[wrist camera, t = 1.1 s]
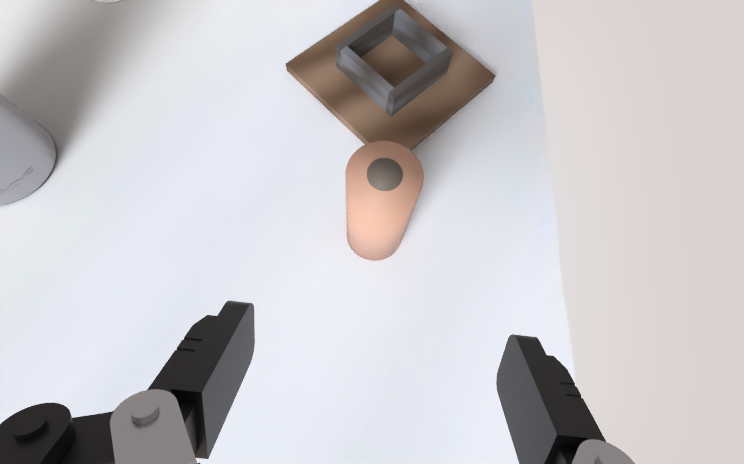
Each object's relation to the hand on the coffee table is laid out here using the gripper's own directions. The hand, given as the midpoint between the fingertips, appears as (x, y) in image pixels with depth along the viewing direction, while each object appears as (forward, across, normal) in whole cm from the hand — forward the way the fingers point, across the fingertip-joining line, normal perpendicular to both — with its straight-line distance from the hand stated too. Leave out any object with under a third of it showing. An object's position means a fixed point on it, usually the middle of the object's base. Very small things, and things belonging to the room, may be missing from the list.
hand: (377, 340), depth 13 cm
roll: (+24, 0, +8) cm, 26 cm away
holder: (+38, 0, -5) cm, 38 cm away
